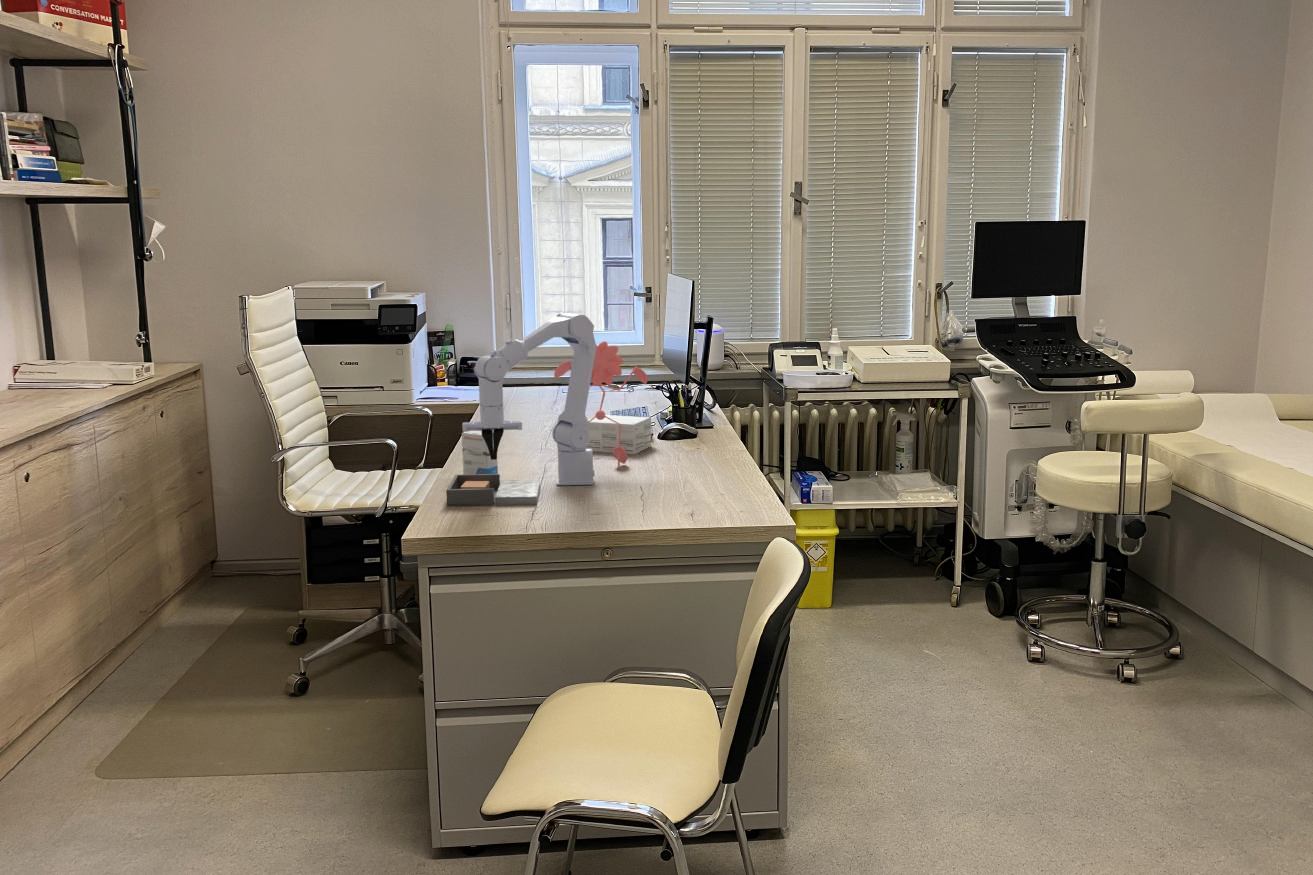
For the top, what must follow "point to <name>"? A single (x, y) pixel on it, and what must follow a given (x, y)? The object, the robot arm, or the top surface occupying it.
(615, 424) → the supplement box
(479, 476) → the box
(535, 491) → the grey flat board
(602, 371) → the figurine
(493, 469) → the ink box
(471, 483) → the tile
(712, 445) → the top surface
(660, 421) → the top surface
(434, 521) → the top surface
